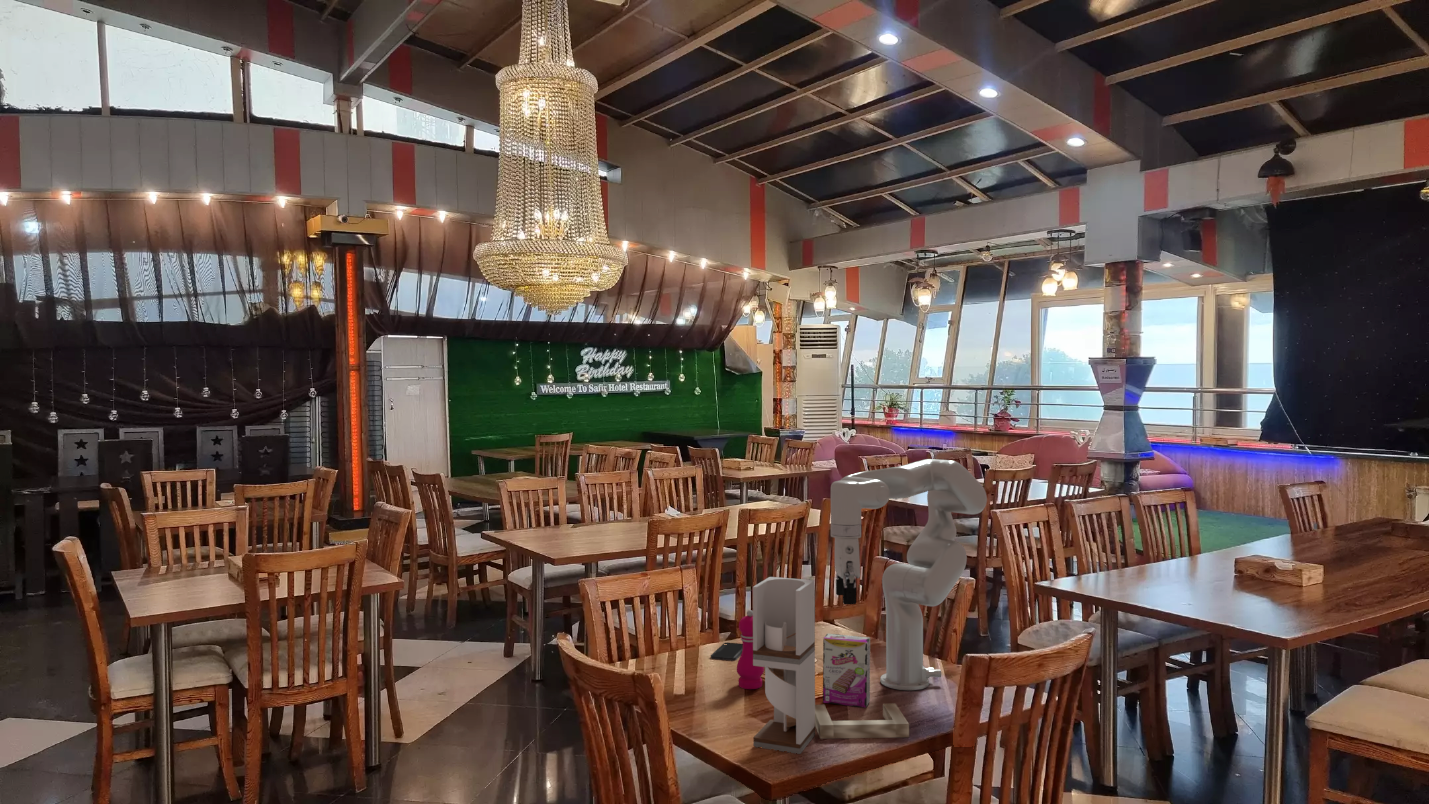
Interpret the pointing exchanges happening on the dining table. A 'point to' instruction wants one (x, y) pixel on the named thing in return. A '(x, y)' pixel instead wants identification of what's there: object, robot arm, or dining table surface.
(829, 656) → the candy bar box
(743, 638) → the pepper mill
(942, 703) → the dining table surface
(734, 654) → the phone
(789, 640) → the white spiral tower
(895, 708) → the notched board
